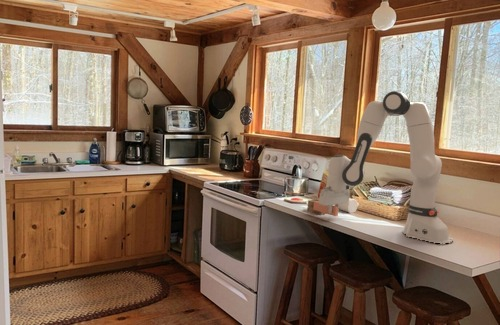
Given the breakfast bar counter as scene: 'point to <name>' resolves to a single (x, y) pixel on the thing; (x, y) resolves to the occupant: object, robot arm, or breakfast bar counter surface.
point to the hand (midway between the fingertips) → (332, 212)
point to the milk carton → (323, 182)
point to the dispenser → (310, 207)
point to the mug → (349, 206)
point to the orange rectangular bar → (325, 209)
